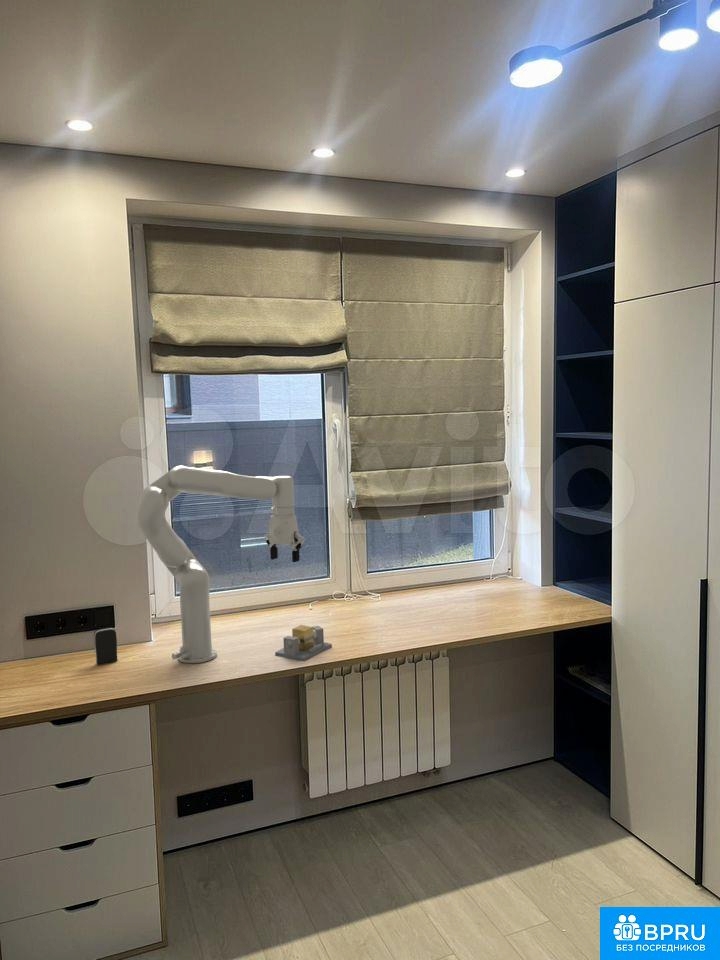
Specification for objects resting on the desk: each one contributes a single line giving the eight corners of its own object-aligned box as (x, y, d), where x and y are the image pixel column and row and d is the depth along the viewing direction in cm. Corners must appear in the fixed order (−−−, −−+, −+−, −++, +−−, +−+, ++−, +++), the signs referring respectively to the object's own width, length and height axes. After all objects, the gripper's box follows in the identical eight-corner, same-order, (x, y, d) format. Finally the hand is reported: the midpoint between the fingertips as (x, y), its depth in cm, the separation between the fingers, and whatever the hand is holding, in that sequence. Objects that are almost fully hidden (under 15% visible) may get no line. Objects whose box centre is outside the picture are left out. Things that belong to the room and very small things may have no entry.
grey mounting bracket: (303, 660, 231) (303, 641, 231) (275, 655, 238) (274, 636, 237) (332, 646, 245) (331, 627, 245) (304, 641, 252) (304, 623, 251)
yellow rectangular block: (304, 651, 238) (304, 631, 237) (292, 649, 240) (291, 628, 240) (313, 646, 242) (313, 626, 241) (301, 644, 245) (300, 624, 244)
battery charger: (115, 658, 239) (113, 625, 238) (118, 661, 236) (116, 628, 235) (94, 663, 235) (91, 629, 234) (96, 666, 232) (94, 632, 231)
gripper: (257, 511, 247) (259, 559, 249) (296, 514, 238) (297, 564, 239) (271, 509, 253) (272, 556, 255) (309, 511, 244) (311, 560, 245)
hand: (284, 560), depth 247 cm, fingers open, 9 cm apart
